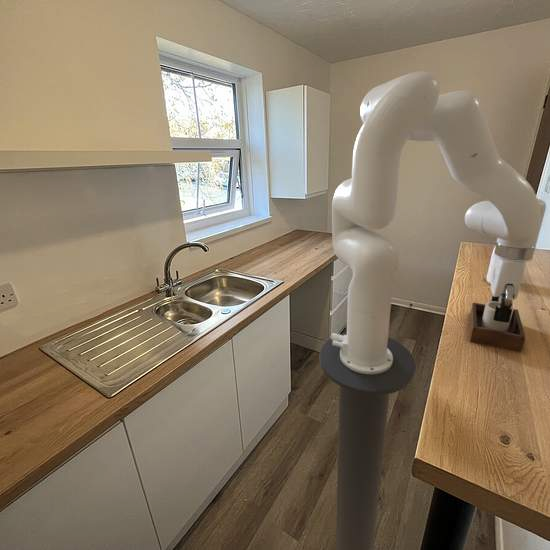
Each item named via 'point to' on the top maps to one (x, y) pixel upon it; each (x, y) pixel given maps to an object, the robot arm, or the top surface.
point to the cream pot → (489, 321)
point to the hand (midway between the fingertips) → (499, 311)
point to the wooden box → (493, 337)
